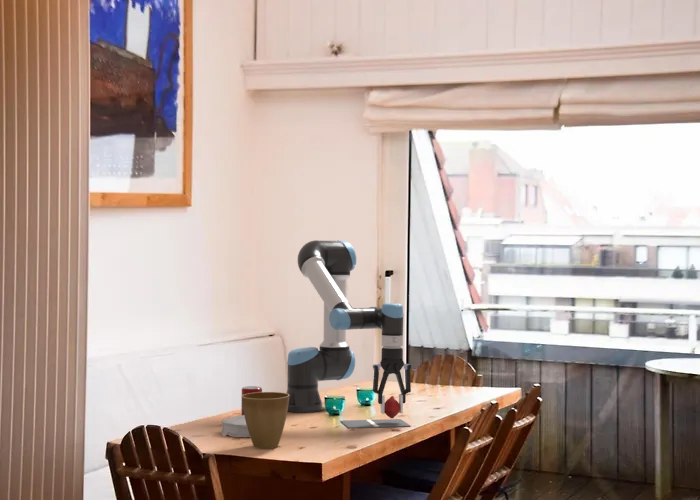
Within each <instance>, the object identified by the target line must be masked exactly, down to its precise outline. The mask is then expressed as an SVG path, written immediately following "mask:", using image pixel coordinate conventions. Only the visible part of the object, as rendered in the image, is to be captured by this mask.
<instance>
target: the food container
mask: <svg viewBox="0 0 700 500" xmlns="http://www.w3.org/2000/svg"><path fill="white" fill-rule="evenodd" d="M219 433H220V434H222V436H224V437H226V436H229V437H234V438H248V437H249V438H251V437H250V435H249V431H248V428H247V424H246V420H245V416H244V415H242V416H241V415H236V416H232V417H227V418H224V419H222V420H221V431H220V432H219Z"/></svg>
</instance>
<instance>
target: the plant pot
mask: <svg viewBox="0 0 700 500" xmlns="http://www.w3.org/2000/svg"><path fill="white" fill-rule="evenodd" d="M240 397H241V400H242V405H243V411H244V416H245V420H246V424H247V428H248V431H249V435H250V437H249V438H250V440H251V443H252V445H253V448H255V449H259V450H261V449H263V450H265V449H266V450H268V449H269V450H270V449H275V448H277V447H278V446H279V444H280V440H281V438H282V435H283V432H284V428H285V424H286V419H287V415H288V411H287V410H288V404H289V394H287V393H286V392H280V391H279V392H277V391H262V392H257V393H248V394H244V395H242V394H241V395H240Z"/></svg>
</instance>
